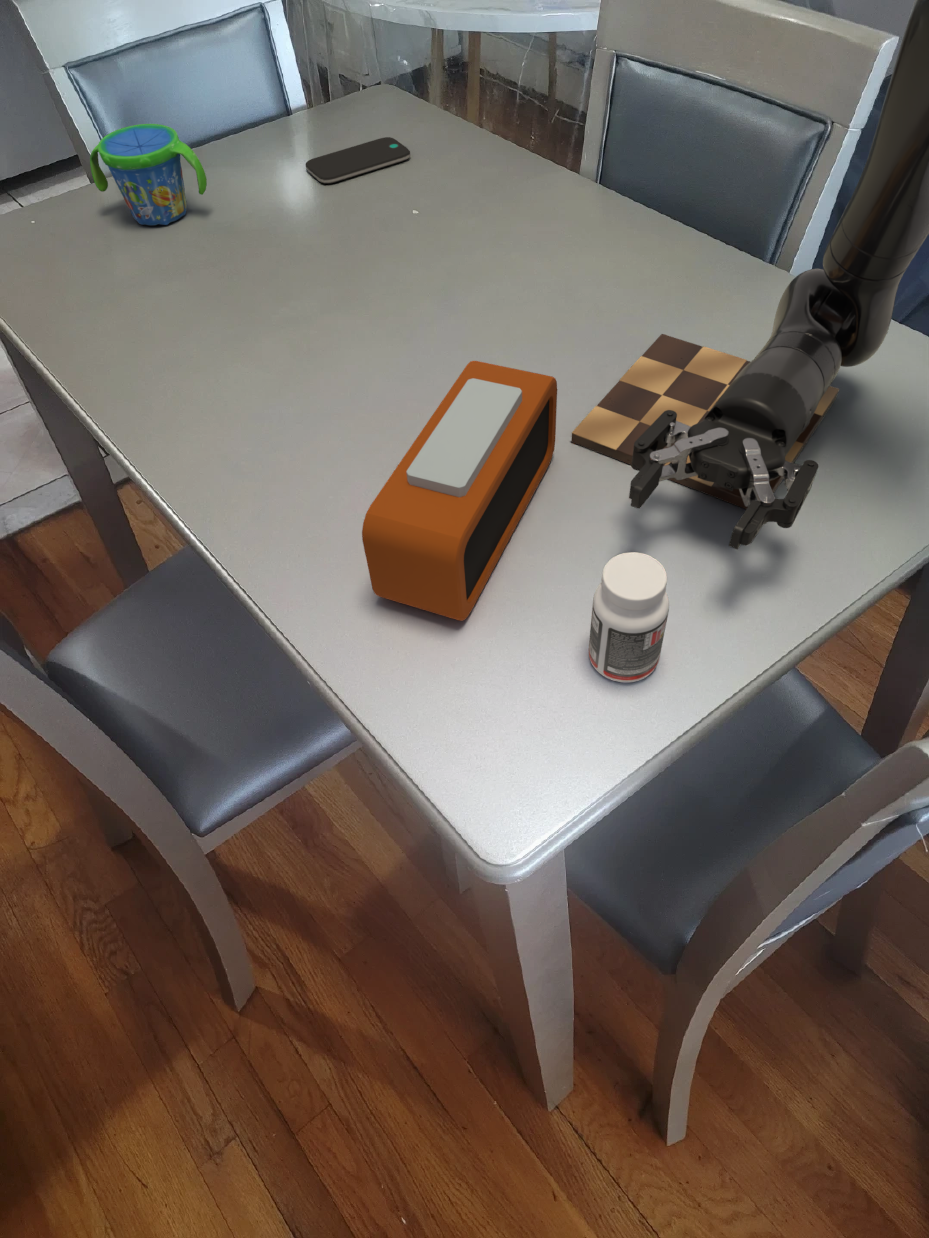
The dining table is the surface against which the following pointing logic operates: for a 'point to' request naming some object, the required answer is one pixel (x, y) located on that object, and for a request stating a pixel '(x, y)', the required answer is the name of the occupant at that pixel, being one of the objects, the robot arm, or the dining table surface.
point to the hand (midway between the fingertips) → (684, 519)
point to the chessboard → (674, 404)
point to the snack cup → (147, 171)
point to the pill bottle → (629, 617)
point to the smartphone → (357, 160)
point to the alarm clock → (461, 490)
